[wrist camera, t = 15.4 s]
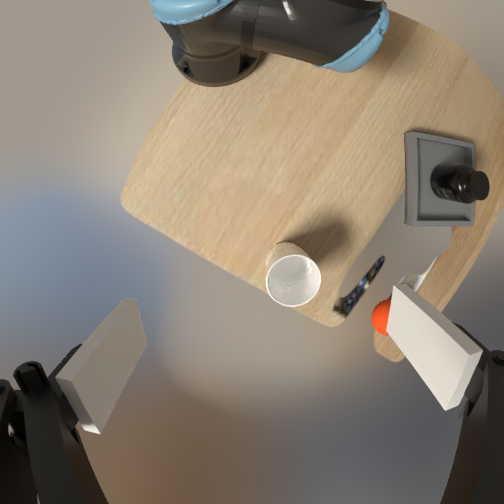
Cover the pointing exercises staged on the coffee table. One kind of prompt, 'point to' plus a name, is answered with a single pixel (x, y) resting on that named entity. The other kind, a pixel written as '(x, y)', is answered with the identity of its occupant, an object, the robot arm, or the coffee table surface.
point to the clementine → (381, 316)
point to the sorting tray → (418, 180)
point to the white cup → (291, 275)
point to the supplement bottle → (459, 183)
